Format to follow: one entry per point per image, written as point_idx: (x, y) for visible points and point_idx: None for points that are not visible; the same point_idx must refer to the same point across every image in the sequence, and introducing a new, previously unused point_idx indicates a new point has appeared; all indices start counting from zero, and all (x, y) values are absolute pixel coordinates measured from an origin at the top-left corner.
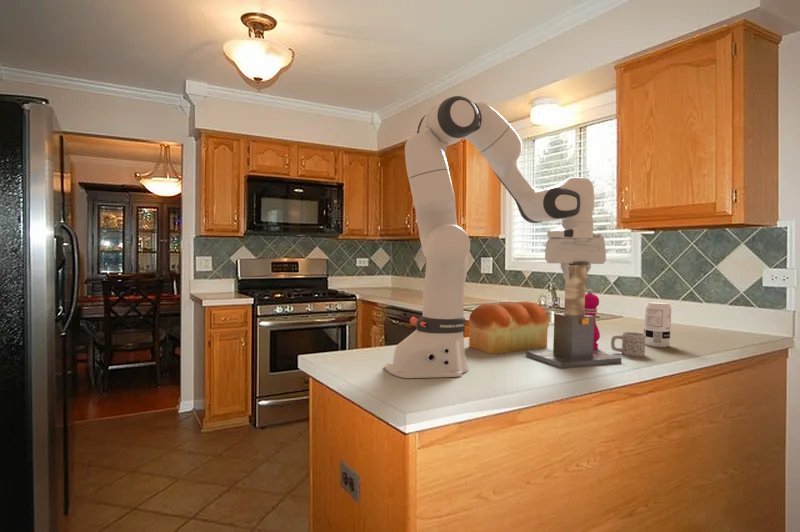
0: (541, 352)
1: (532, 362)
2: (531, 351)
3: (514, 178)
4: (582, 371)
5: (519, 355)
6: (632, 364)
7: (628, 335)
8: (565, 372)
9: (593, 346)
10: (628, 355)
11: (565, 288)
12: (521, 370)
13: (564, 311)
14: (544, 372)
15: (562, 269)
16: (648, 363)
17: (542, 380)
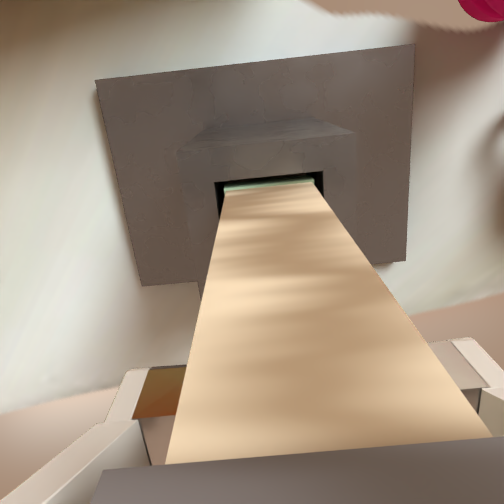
0: (153, 117)
1: (85, 185)
2: (117, 89)
3: None
4: (194, 317)
5: (79, 59)
6: (420, 275)
7: None
8: (136, 317)
9: (496, 19)
10: None
11: (212, 260)
12: (6, 274)
13: (225, 196)
14: (71, 306)
15: (44, 486)
16: (485, 274)
17: (31, 369)
